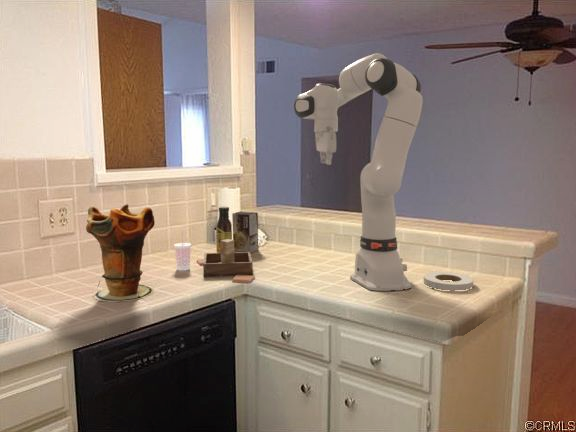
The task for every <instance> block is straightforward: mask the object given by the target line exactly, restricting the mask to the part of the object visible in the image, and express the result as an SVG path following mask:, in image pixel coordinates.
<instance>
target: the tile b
mask: <svg viewBox="0 0 576 432" xmlns="http://www.w3.org/2000/svg"><path fill="white" fill-rule="evenodd" d="M255 277H256V276H255V275H237V276H233V278H232V280H231V281H232V283H246V284H251V282H252V281H253V280H254V279H255Z"/></svg>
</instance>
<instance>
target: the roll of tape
mask: <svg viewBox="0 0 576 432" xmlns="http://www.w3.org/2000/svg"><path fill="white" fill-rule="evenodd" d="M443 280H452V281H453V282H450V281H443ZM423 282H424V284H425V285H427V286H429V287H432V288H436V289H441V290H450V291H455V290H466V289H470V288H471V287H473V288H474V278H472V277H471V276H469V275H467V274H463V273H459V272H453V271H430V272H428V273H425V274H424V275H423ZM424 284H423V285H424ZM425 285H424V286H425Z"/></svg>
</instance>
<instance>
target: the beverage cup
mask: <svg viewBox="0 0 576 432" xmlns="http://www.w3.org/2000/svg"><path fill="white" fill-rule="evenodd" d="M191 247H192V244H191V243H190V242H184V231H183V230H181V242H179V243H174V244H173V248H174V252H175V263H176V264H175V265H176V270H178V271H188V270H190V269H191Z"/></svg>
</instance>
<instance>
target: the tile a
mask: <svg viewBox="0 0 576 432" xmlns="http://www.w3.org/2000/svg"><path fill="white" fill-rule="evenodd" d="M196 262H197V264H198V265H199V266H203V262H204V258H199V259H196Z"/></svg>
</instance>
